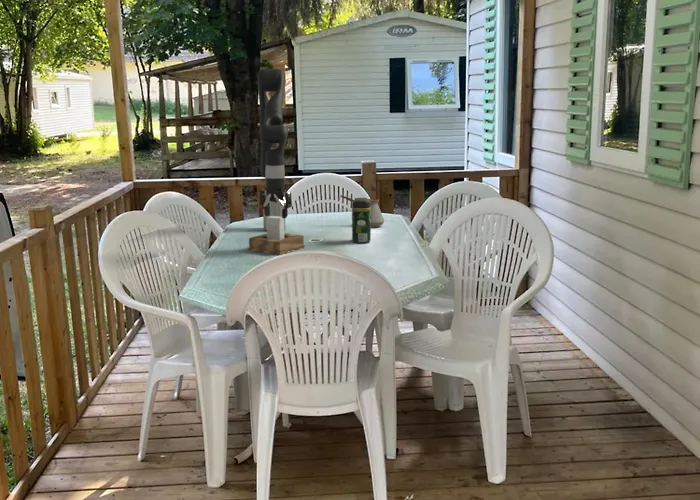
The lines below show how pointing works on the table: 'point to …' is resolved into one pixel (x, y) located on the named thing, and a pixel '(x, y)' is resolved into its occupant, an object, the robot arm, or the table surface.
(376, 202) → the coffee pot
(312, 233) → the table surface
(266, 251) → the holder
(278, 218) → the skincare box
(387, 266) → the table surface
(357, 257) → the table surface
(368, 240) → the coffee jar
